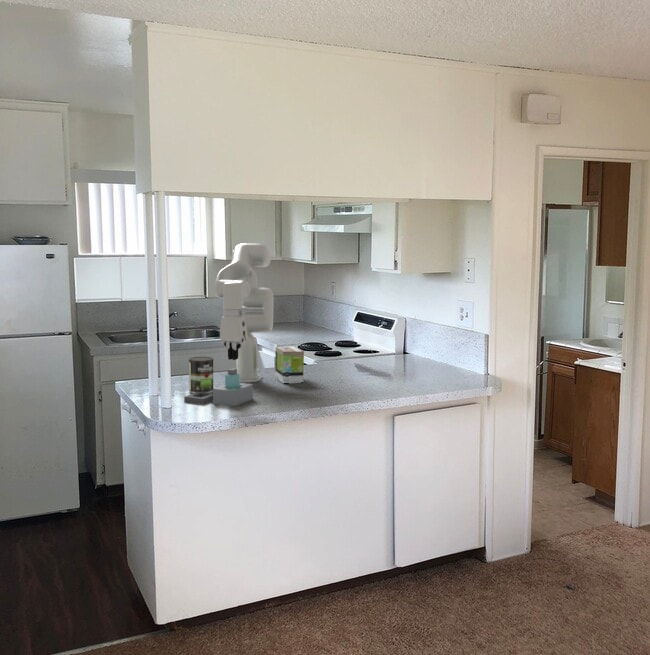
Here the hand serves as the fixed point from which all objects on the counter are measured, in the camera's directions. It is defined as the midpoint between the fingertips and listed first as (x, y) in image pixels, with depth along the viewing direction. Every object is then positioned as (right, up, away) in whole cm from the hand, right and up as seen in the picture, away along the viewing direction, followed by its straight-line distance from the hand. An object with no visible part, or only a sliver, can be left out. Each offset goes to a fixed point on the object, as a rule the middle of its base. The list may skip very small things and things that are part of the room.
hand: (233, 359), depth 282 cm
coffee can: (-16, -15, +19) cm, 29 cm away
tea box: (+20, -12, +43) cm, 49 cm away
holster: (-13, -17, +3) cm, 21 cm away
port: (0, -17, +2) cm, 17 cm away
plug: (0, -15, +2) cm, 15 cm away
